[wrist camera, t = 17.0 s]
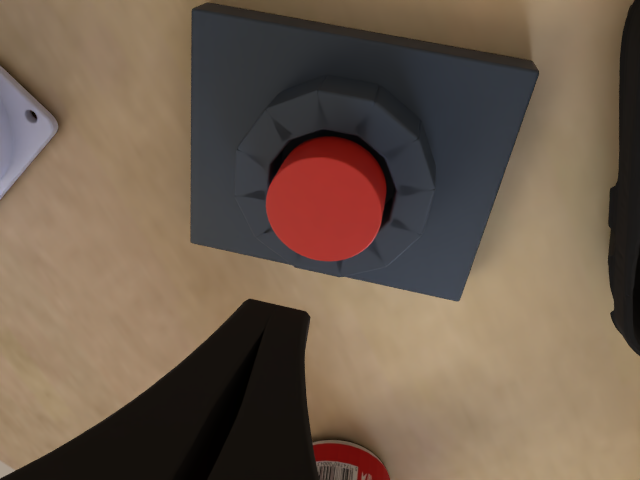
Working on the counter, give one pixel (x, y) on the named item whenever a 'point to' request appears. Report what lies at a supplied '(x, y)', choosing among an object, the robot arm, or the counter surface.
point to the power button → (327, 199)
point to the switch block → (352, 137)
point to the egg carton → (627, 191)
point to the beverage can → (347, 462)
